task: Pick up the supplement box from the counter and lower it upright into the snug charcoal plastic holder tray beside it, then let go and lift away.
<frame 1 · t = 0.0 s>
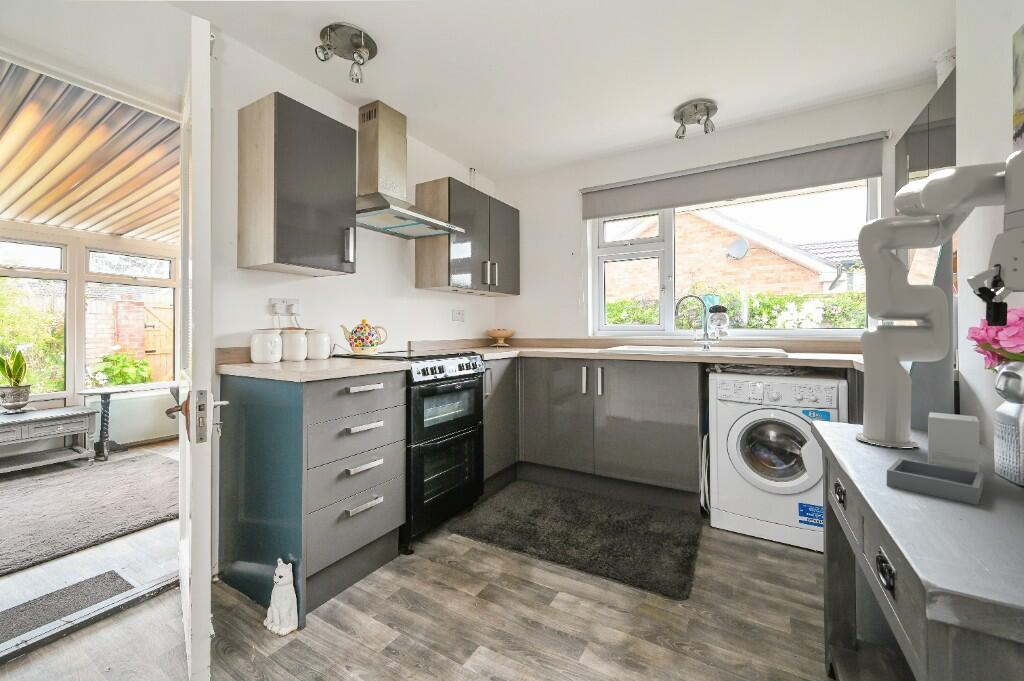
holder tray: (934, 486, 82), on the table
supplement box: (951, 476, 88), on the table
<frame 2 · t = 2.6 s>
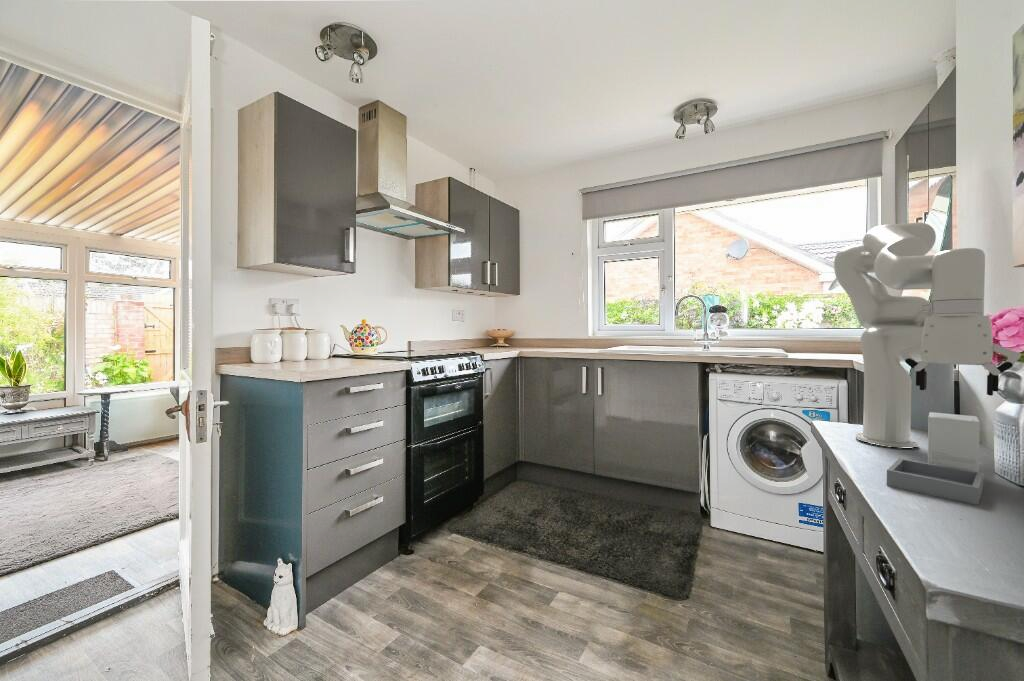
hand: (955, 392, 88), 18 cm above the table, tool pointing down, fingers open, 9 cm apart
nothing on the table moved.
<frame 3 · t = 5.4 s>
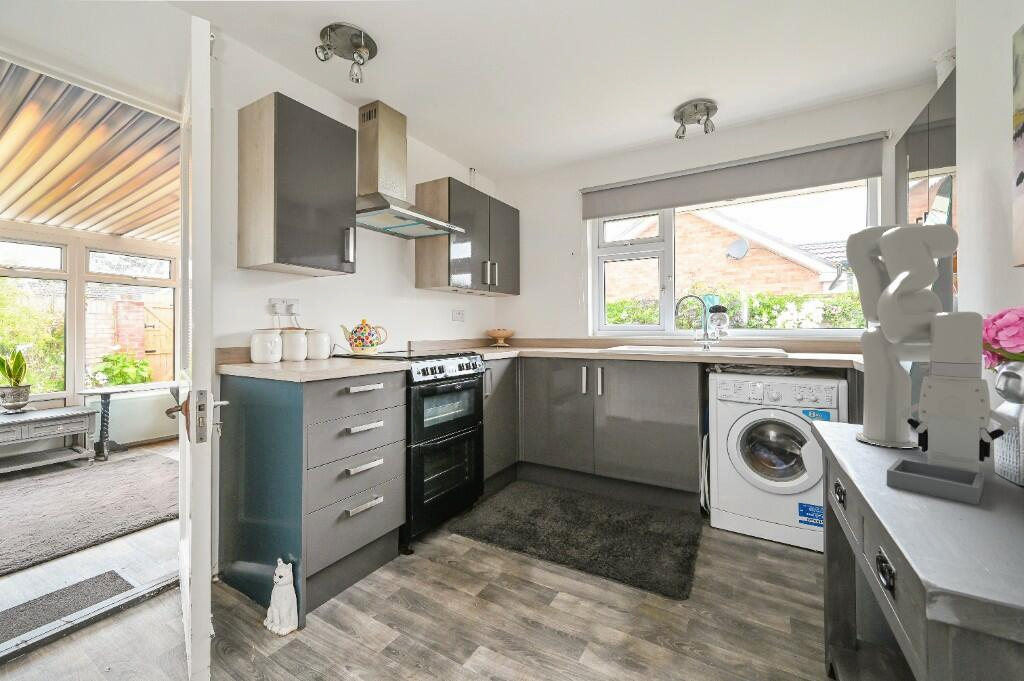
hand: (952, 454, 88), 4 cm above the table, tool pointing down, fingers closed on supplement box, 7 cm apart
supplement box: (951, 476, 88), on the table, touching gripper
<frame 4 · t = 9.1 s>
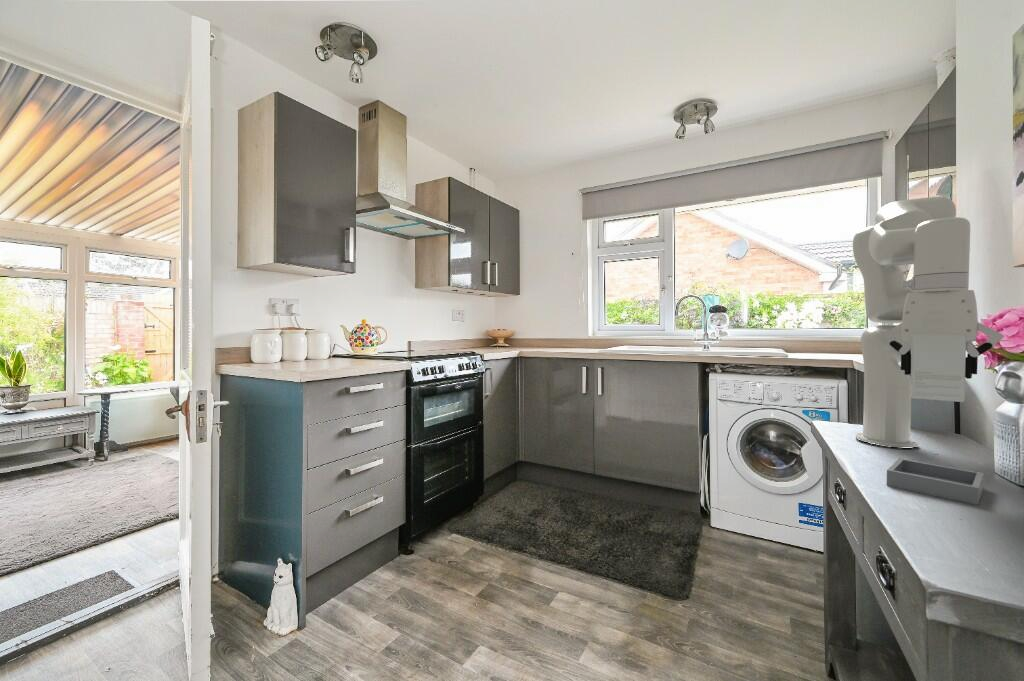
hand: (937, 375, 82), 22 cm above the table, tool pointing down, fingers closed on supplement box, 7 cm apart
supplement box: (936, 399, 82), point 17 cm above the table, touching gripper
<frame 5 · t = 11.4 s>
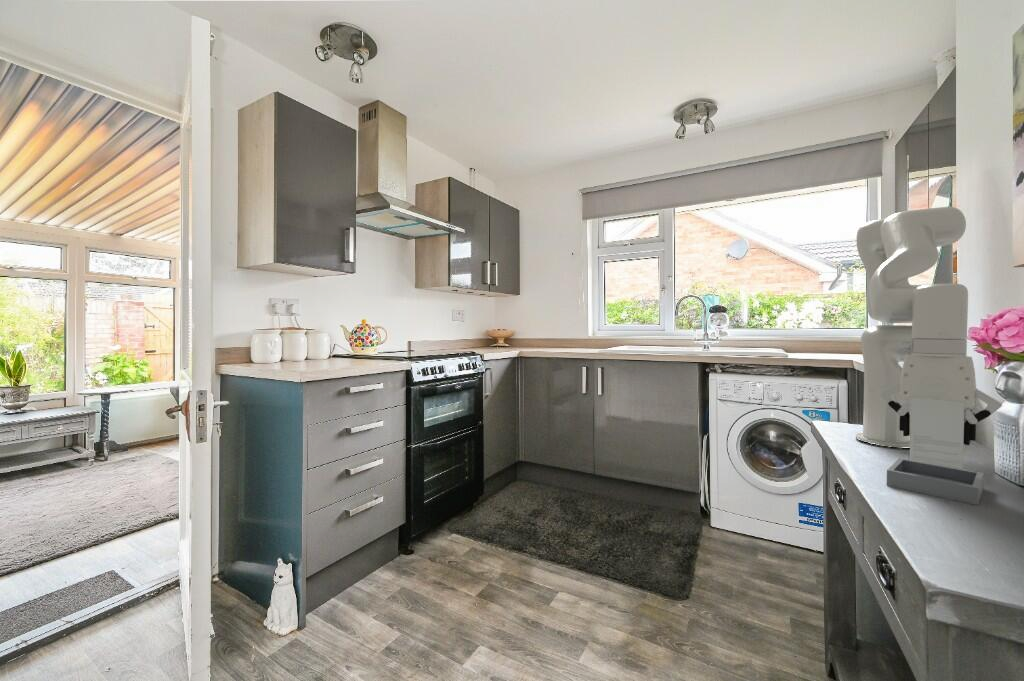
hand: (935, 438, 82), 9 cm above the table, tool pointing down, fingers closed on supplement box, 7 cm apart
supplement box: (935, 462, 82), point 5 cm above the table, touching gripper
when the fingers open (6 cm above the table, at t = 13.2 s): supplement box stays where it is, resting on holder tray.
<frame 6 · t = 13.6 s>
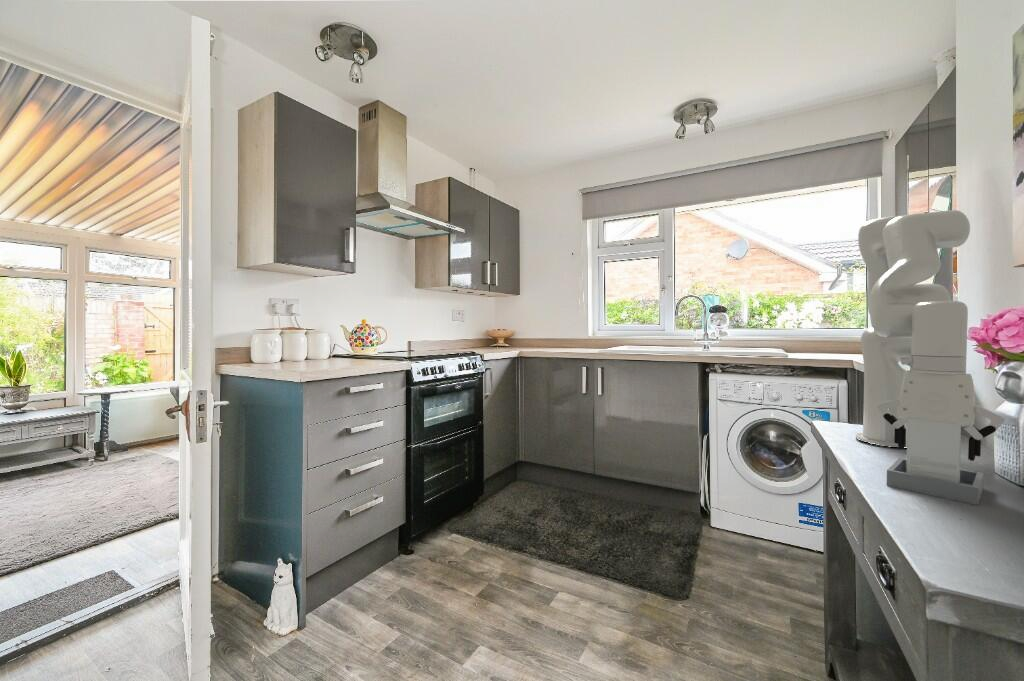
hand: (935, 453, 82), 7 cm above the table, tool pointing down, fingers open, 9 cm apart
supplement box: (932, 483, 82), point 1 cm above the table, touching holder tray
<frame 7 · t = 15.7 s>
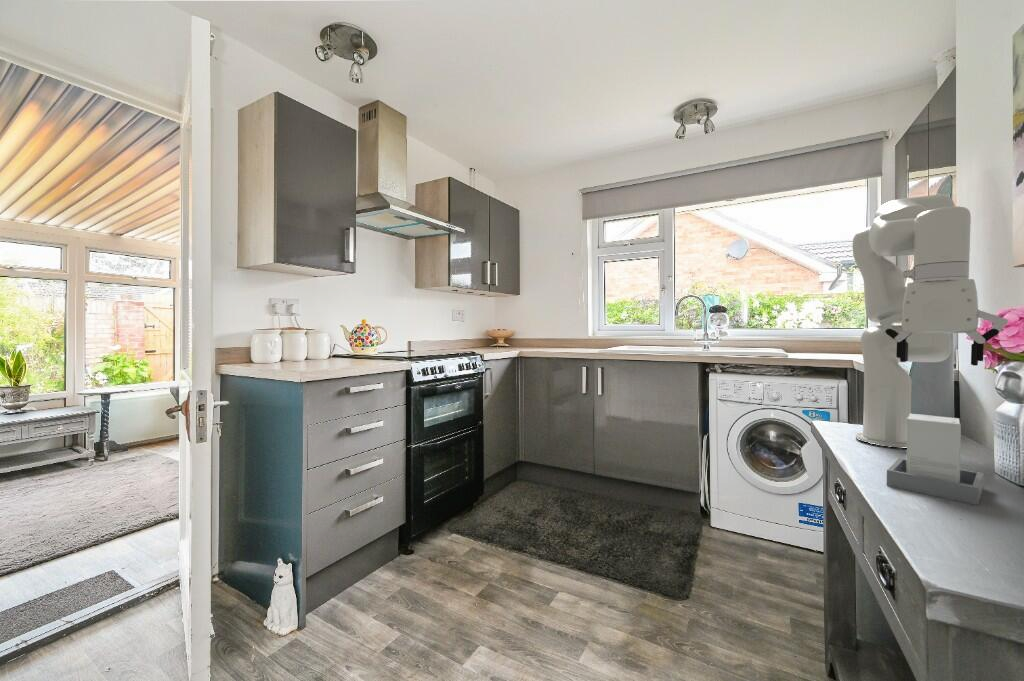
hand: (937, 363, 82), 24 cm above the table, tool pointing down, fingers open, 9 cm apart
nothing on the table moved.
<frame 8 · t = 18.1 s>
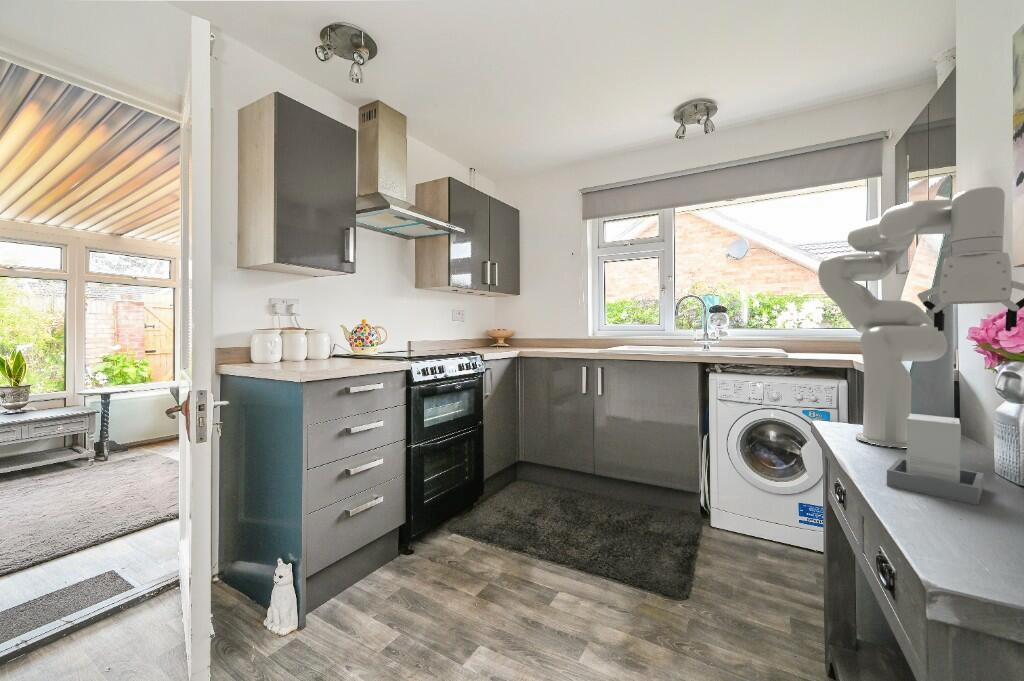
hand: (973, 331, 89), 30 cm above the table, tool pointing down, fingers open, 9 cm apart
nothing on the table moved.
at the end: supplement box 0.4 cm off-centre on the holder tray, point 0.6 cm above the holder tray's base; supplement box tilted 0°; the gripper is holding nothing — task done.
